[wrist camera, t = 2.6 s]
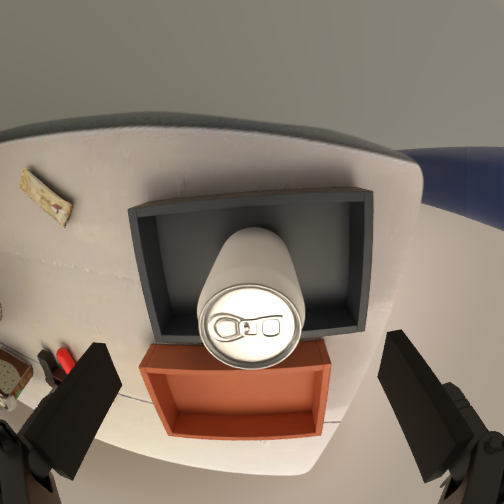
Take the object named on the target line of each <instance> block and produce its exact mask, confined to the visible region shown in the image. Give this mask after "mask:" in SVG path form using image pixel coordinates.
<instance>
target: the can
mask: <svg viewBox="0 0 504 504" xmlns="http://www.w3.org/2000/svg"><path fill="white" fill-rule="evenodd" d="M197 317H198V322H199V323H198V328H199V334H200V338H201V340H202V342H203V344H204V346H205V347H206V349H207V350H208V351H209V352H210V353H211V354H212V355H213V356H214V357H215V358H216V359H218V360H219V361H221V362H222V363H224V364H226V365H229V366H231V367H235V368H239V369H245V370H258V369H264V368H268V367H271V366H274V365H276V364H278V363H280V362H282V361H283V360H284V359H286V358H287V357H288V356H289V355H290V354H291V353H292V352H293V351H294V350H295V348H296V347H297V345H298V343H299V340H300V337H301V333H302V328H303V325H304V320H305V305H304V300H303V296H302V293H301V289H300V286H299V282H298V279H297V276H296V272H295V269H294V266H293V263H292V260H291V257H290V254H289V251H288V249H287V246H286V245H285V243H284V242H283V240H282V239H281V238H280V237H279V236H278V235H277V234H275V233H274V232H272V231H270V230H267V229H264V228H259V227H250V228H245V229H242V230H239V231H237V232H236V233H234V234H233V235H232V236H230V237H229V238H228V239H227V241H226V242H225V244H224V245H223V247H222V249H221V251H220V253H219V255H218V257H217V259H216V261H215V263H214V265H213V267H212V270H211V272H210V274H209V276H208V278H207V280H206V283H205V285H204V287H203V289H202V292H201V294H200V297H199V301H198V306H197Z"/></svg>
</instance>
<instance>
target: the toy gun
mask: <svg viewBox="0 0 504 504" xmlns="http://www.w3.org/2000/svg"><path fill="white" fill-rule="evenodd" d="M56 355H57V358H58V360H59V362H60V364H61V365H62V367H63V369H64V370H63V369H61V368H59V367H57V365H56V363H55V361H54V359H53V356H52V354H51V353H49V352H47V351H45V350H42V351H41V352H40V353H39V354H38V355H37V357H38V359H39V362H40V364H41V366H42V368H43V370H44V373H45V376H46V378H45V379H46V382H47V383H48V384H49V385H50V386H51V387H53V389H52V390H51V391H50V393H51V392H52V393H54V391H55V390H56V389H57V387H58V386H59V385H60V383H61V382H62V381H63V380H64V378H65V377H66V376H67V374H68V373H69V372H70V371H71V369H72V368H73V367H74V365H75V363H74V361H73V359H72V357H71V356H70V354H69V352H68V350H66V349H65V348H60V349H58V351H57V353H56ZM50 393H49V394H50Z"/></svg>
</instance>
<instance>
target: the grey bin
mask: <svg viewBox="0 0 504 504" xmlns="http://www.w3.org/2000/svg"><path fill="white" fill-rule="evenodd" d="M128 215H129V222H130V228H131V234H132V240H133V246H134V251H135V257H136V262H137V267H138V272H139V276H140V281H141V285H142V290H143V294H144V298H145V303H146V307H147V311H148V315H149V318H150V322H151V326H152V330H153V333H154V337H155V340H156V342H195V343H203V342H202V340H201V338H200V334H199V328H198V323H199V322H198V317H197V306H198V301H199V297H200V294H201V292H202V289H203V287H204V285H205V283H206V280H207V278H208V276H209V274H210V272H211V270H212V267H213V265H214V263H215V261H216V259H217V257H218V255H219V253H220V251H221V249H222V247H223V245H224V244H225V242H226V241H227V239H228V238H229V237H230V236H232V235H233V234H234V233H236V232H237V231H239V230H242V229H245V228H250V227H259V228H264V229H267V230H270V231H272V232H274V233H275V234H277V235H278V236H279V237H280V238H281V239H282V240H283V242H284V243H285V245H286V246H287V249H288V251H289V254H290V257H291V260H292V263H293V266H294V269H295V272H296V276H297V279H298V282H299V286H300V289H301V293H302V296H303V300H304V305H305V320H304V325H303V328H302V333H301V337H300V338H310V337H321V336H330V335H339V334H348V333H355V332H363V331H365V325H366V317H367V309H368V300H369V290H370V278H371V264H372V246H373V191H370V190H366V189H362V188H358V187H331V188H302V189H282V190H265V191H251V192H238V193H226V194H215V195H204V196H195V197H185V198H177V199H168V200H160V201H152V202H146V203H143V204H141V205H138V206H135V207H132V208H129V209H128Z"/></svg>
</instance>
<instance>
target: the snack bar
mask: <svg viewBox="0 0 504 504" xmlns="http://www.w3.org/2000/svg"><path fill="white" fill-rule="evenodd" d="M20 188H21V190H23V191H24V192H25V193H26V194H27V195H28V196H29V197H30V198H31V199H33V200H34V201H35V202H36V203H37V204H38V205H39V206H40V207H41V208H42V209H43V210H44V211H45V212H47V213H48V214H49V215H51V216H52V217H53V218H54V219H55V220H57V221H58V222H59V223H60V224H61V225H62V226H63V227H64V225H65V226H66V219H67V218H69V217H68V216H69V215H70V213H71V210H72V208H73V207H72V204H70V203H69V202H68V201H64V200H63V199H62V198H61V197H60V196H58V195H57V194H56V193H54V192H53V191H51V190H50V189H49V188H48V187H47V186H46V185H44V183H42V182H41V181H40V180H39V179H38V178H36V177H35V176H34V175H33V174H32V173H30V172H29V171H28V170H27V169H24V171H23V176H22V179H21V184H20ZM67 220H68V219H67ZM64 223H65V224H64ZM64 228H65V227H64Z"/></svg>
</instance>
